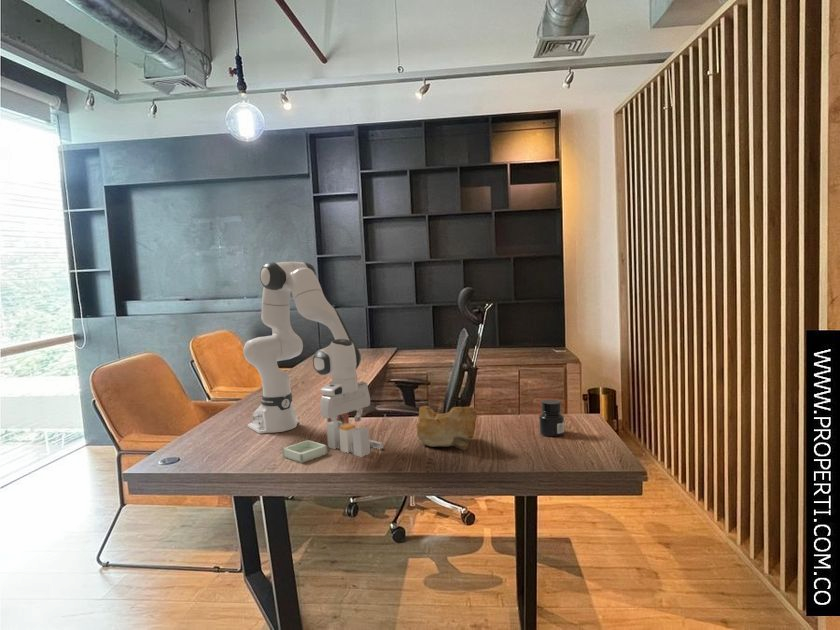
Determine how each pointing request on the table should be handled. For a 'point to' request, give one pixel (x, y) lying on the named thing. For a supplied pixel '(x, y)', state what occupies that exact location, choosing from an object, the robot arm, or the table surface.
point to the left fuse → (333, 435)
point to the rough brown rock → (446, 427)
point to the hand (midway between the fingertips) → (347, 424)
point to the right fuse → (361, 441)
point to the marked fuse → (346, 437)
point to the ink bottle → (551, 419)
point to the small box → (341, 418)
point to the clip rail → (372, 444)
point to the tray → (304, 451)
